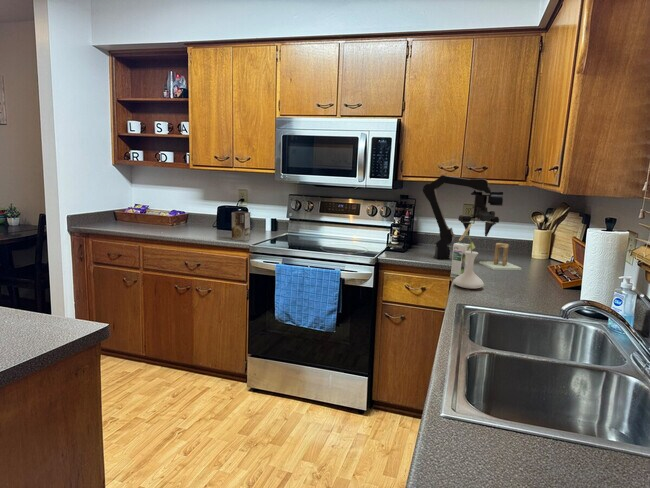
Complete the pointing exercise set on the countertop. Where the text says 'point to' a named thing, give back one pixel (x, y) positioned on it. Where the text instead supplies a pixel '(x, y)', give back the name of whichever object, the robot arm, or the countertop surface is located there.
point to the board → (499, 266)
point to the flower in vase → (469, 268)
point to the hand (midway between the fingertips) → (477, 236)
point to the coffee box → (241, 226)
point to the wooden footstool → (497, 251)
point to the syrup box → (459, 259)
